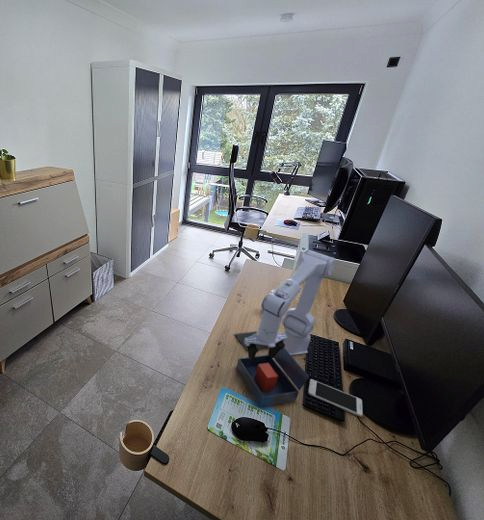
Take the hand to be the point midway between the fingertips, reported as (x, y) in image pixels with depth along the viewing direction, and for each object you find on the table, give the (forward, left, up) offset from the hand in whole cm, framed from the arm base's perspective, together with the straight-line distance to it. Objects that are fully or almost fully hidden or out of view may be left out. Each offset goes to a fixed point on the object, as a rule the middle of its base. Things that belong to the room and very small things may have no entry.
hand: (260, 357), depth 101 cm
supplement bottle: (-28, -34, -10) cm, 45 cm away
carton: (-2, +3, -10) cm, 11 cm away
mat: (-9, -18, -10) cm, 22 cm away
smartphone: (-23, +12, -10) cm, 28 cm away
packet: (-2, +3, -10) cm, 11 cm away
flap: (-9, +3, -1) cm, 9 cm away
